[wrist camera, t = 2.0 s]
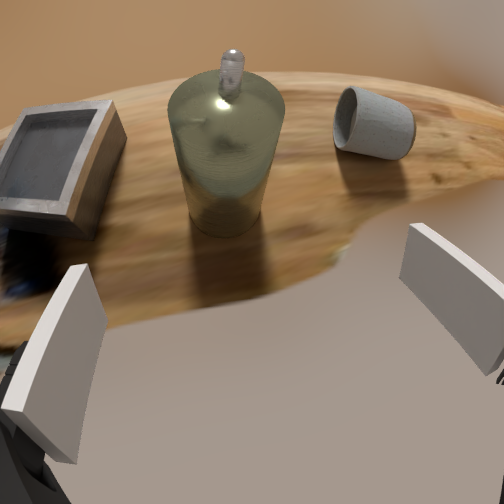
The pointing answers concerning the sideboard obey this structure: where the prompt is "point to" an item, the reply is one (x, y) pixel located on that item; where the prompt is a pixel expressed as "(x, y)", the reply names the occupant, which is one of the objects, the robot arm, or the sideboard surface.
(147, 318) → the sideboard surface
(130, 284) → the sideboard surface
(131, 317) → the sideboard surface
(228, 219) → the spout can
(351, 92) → the ceramic mug
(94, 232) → the grey rectangular tray
